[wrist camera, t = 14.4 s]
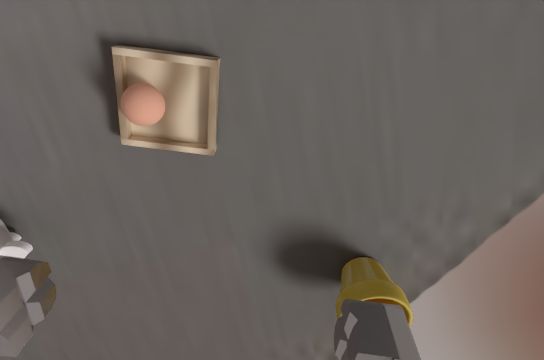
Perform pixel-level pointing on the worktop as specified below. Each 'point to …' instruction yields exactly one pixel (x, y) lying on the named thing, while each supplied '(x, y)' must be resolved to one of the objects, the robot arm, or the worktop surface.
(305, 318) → the worktop surface
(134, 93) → the coral ball
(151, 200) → the worktop surface
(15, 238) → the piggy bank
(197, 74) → the birch tray
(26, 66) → the worktop surface
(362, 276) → the plant pot
